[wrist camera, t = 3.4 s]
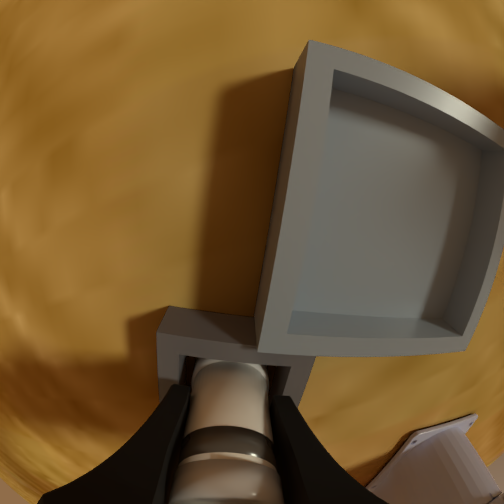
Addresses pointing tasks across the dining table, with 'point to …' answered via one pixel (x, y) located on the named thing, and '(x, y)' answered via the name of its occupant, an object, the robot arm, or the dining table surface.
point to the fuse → (227, 438)
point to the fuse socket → (222, 350)
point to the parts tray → (379, 214)
